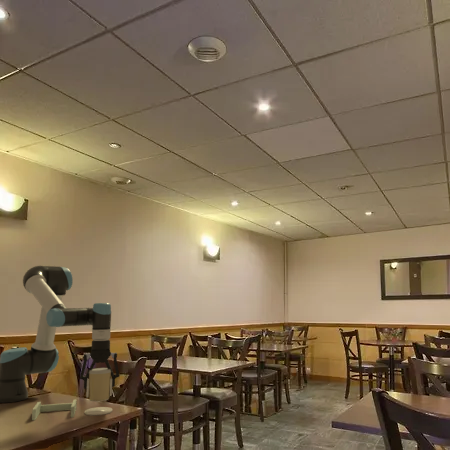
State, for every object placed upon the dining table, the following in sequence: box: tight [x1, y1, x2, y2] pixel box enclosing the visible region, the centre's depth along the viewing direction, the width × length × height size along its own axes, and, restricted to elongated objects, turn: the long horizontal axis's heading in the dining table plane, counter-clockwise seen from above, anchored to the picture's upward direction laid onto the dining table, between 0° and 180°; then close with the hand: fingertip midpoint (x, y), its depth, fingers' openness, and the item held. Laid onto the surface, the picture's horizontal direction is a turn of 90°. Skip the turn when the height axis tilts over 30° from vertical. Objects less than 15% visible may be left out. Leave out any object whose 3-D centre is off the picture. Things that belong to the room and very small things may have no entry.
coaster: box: [84, 406, 113, 416], centre depth 180 cm, size 11×11×1 cm
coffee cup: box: [88, 367, 112, 402], centre depth 182 cm, size 9×9×12 cm
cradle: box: [31, 399, 78, 421], centre depth 177 cm, size 15×15×4 cm
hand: (99, 395), depth 181 cm, fingers closed on coffee cup, 9 cm apart
